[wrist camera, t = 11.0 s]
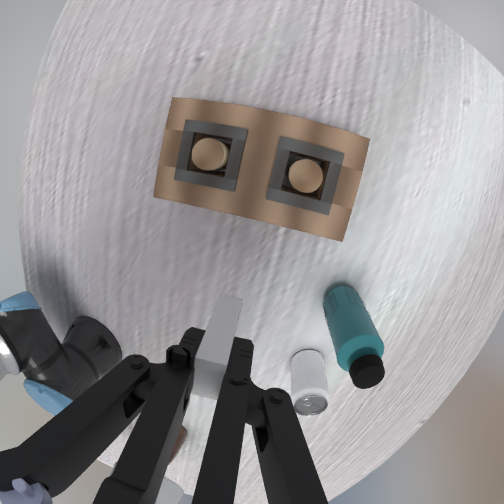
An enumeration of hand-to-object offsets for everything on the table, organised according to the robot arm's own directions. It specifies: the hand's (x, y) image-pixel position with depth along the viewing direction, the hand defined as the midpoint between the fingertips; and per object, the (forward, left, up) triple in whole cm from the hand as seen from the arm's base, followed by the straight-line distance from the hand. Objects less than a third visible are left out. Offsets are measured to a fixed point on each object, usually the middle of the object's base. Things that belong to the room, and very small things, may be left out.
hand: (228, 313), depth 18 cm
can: (+15, -24, -26) cm, 38 cm away
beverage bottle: (+16, -9, -26) cm, 32 cm away
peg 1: (-8, +9, -25) cm, 27 cm away
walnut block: (-2, +9, -25) cm, 27 cm away
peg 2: (+4, +9, -25) cm, 27 cm away
